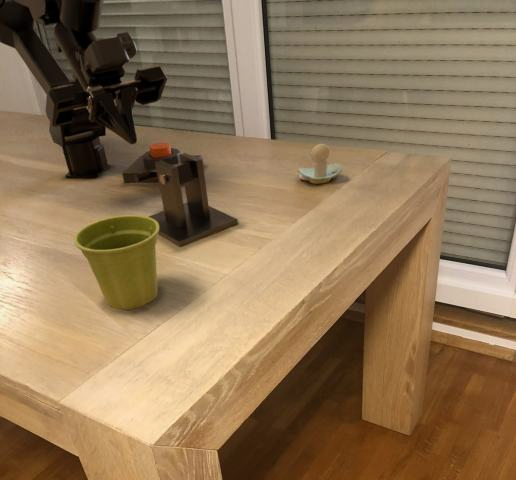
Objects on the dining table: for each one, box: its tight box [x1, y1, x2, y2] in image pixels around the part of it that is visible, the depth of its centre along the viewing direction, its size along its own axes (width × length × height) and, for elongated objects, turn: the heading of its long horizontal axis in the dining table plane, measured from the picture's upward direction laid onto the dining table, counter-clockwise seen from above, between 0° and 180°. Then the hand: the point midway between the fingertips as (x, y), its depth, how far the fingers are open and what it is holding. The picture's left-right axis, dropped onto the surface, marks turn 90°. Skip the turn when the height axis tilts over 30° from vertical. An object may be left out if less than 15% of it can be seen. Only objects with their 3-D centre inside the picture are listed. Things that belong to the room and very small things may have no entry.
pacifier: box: [297, 143, 343, 185], centre depth 93 cm, size 7×6×6 cm
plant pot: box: [73, 214, 159, 310], centre depth 65 cm, size 9×9×9 cm
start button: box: [149, 142, 172, 158], centre depth 99 cm, size 4×4×2 cm
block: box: [121, 147, 204, 184], centre depth 101 cm, size 12×9×4 cm
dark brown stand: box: [148, 152, 239, 248], centre depth 81 cm, size 11×10×10 cm
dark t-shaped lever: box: [134, 163, 194, 185], centre depth 82 cm, size 11×6×2 cm, turn 38°
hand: (134, 142), depth 86 cm, fingers closed
